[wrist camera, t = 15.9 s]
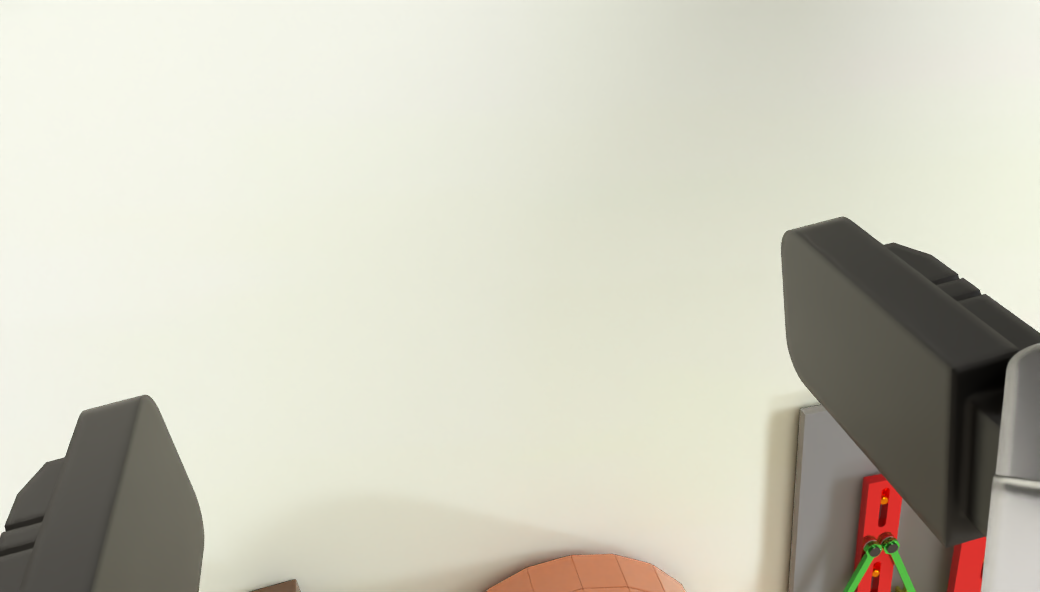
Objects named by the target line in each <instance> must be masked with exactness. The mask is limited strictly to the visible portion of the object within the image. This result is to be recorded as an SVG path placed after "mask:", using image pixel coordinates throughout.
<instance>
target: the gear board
mask: <svg viewBox="0 0 1040 592" xmlns="http://www.w3.org/2000/svg"><path fill="white" fill-rule="evenodd" d="M985 548H986V537H982V538H978V539H975V540H972V541H968V542H965V543H961V544H958V545H955V546H951V547H948V548H945V547H944V546H943V544H942V543H941V542H940V541H939V540H938V539H937V537H936V536H935V535H934V534H933V533H932V532H931V530H930V529H929V528H928V527H927V526H926V525H925V524H924V522H923V521H922V520H921V519H920V518H919V517H918V515H917V514H916V513H915V512H914V511H913V510H912V509H911V507H910V506H909V505H908V504H907V503H906V502H905V500H904V499H903V498H902V497H901V496H900V495H899V493H898V492H897V491H896V490H895V489H894V488H893V487H892V485H891V484H890V483H889V482H888V481H887V480H886V478H885V477H884V476H883V475H882V474H881V473H880V472H879V470H878V469H877V468H876V467H875V466H874V465H873V463H872V462H871V461H870V460H869V459H868V458H867V456H866V455H865V454H864V453H863V452H862V451H861V450H860V448H859V447H858V446H857V445H856V444H855V443H854V441H853V440H852V439H851V438H850V437H849V436H848V435H847V433H846V432H845V431H844V430H843V429H842V428H841V426H840V425H839V424H838V423H837V422H836V421H835V419H834V418H833V417H832V416H831V415H830V414H829V413H828V411H827V410H826V409H825V408H824V407H823V406H822V405H817V406H812V407H806V408H801V409H800V419H799V434H798V450H797V465H796V481H795V496H794V512H793V527H792V543H791V558H790V574H789V589H788V592H981V585H982V576H983V566H984V557H985Z"/></svg>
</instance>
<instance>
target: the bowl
mask: <svg viewBox="0 0 1040 592" xmlns="http://www.w3.org/2000/svg"><path fill="white" fill-rule="evenodd" d="M485 592H686V591H685V589H684V587H683V586H682V584H680V583H679V582H678V581H676V580H675V579H673V578H672V577H670V576H669V575H667V574H666V573H665V572H663V571H662V570H660V569H659V568H657V567H656V566H654V565H652V564H650V563H647V562H643V561H639V560H635V559H631V558H627V557H623V556H619V555H614V554H592V555H571V556H570V555H569V556H566V557H562V558H558V559H555V560H551V561H548V562H544V563H541V564H537V565H533V566H530V567H527V568H525V569H523V570H521V571H519V572H518V573H516V574H514V575H512V576H510V577H509V578H507V579H505V580H503V581H502V582H500V583H498V584H496V585H494V586H493V587H491V588H489V589H488V590H487V591H485Z"/></svg>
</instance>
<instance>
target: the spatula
mask: <svg viewBox="0 0 1040 592" xmlns="http://www.w3.org/2000/svg"><path fill="white" fill-rule="evenodd" d="M251 592H301V591H300V589H299V586H298V584H297V581H296V579H294V580H290V581H287V582H283V583H280V584H276V585H272V586H269V587H265V588H262V589H258V590H254V591H251Z"/></svg>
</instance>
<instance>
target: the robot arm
mask: <svg viewBox="0 0 1040 592" xmlns="http://www.w3.org/2000/svg"><path fill="white" fill-rule="evenodd" d="M781 258H782V275H783V292H784V309H785V326H786V339H787V345H788V350H789V354H790V357H791V360H792V363H793V365H794V368H795V370H796V372H797V374H798V376H799V378H800V379H801V381H802V382H803V383H804V385H805V386H806V387H807V388H808V389H809V391H810V392H811V393H812V394H813V395H814V396H815V397H816V399H817V400H818V401H819V402H820V403H821V404H822V406H823V407H824V408H825V409H826V410H827V411H828V413H829V414H830V415H831V416H832V417H833V418H834V419H835V421H836V422H837V423H838V424H839V425H840V426H841V428H842V429H843V430H844V431H845V432H846V433H847V435H848V436H849V437H850V438H851V439H852V440H853V441H854V443H855V444H856V445H857V446H858V447H859V448H860V450H861V451H862V452H863V453H864V454H865V455H866V456H867V458H868V459H869V460H870V461H871V462H872V463H873V465H874V466H875V467H876V468H877V469H878V470H879V472H880V473H881V474H882V475H883V476H884V477H885V478H886V480H887V481H888V482H889V483H890V484H891V485H892V487H893V488H894V489H895V490H896V491H897V492H898V493H899V495H900V496H901V497H902V498H903V499H904V500H905V502H906V503H907V504H908V505H909V506H910V507H911V509H912V510H913V511H914V512H915V513H916V514H917V515H918V517H919V518H920V519H921V520H922V521H923V522H924V524H925V525H926V526H927V527H928V528H929V529H930V530H931V532H932V533H933V534H934V535H935V536H936V537H937V539H938V540H939V541H940V542H941V543H942V544H943V546H944V547H945V548H948V547H951V546H955V545H958V544H961V543H965V542H968V541H972V540H975V539H978V538H982V537H986V548H985V557H984V566H983V576H982V585H981V592H1040V333H1039V332H1037V331H1036V330H1035V329H1033V328H1032V327H1031V326H1029V325H1028V324H1026V323H1025V322H1024V321H1022V320H1021V319H1019V318H1018V317H1017V316H1015V315H1014V314H1013V313H1011V312H1010V311H1008V310H1007V309H1006V308H1004V307H1003V306H1001V305H1000V304H999V303H997V302H996V301H994V300H993V299H992V298H990V297H989V296H988V295H986V294H983V295H981V293H980V290H979V289H978V288H976V287H975V286H974V285H972V284H971V283H970V282H968V281H967V280H965V279H964V278H961V279H959V277H958V274H957V273H956V272H954V271H953V270H951V269H950V268H949V267H947V266H946V265H945V264H943V263H942V262H940V261H939V260H938V259H936V258H935V257H933V256H932V255H930V254H927V253H924V252H921V251H917V250H914V249H911V248H908V247H905V246H902V245H899V244H896V243H890V244H886V245H883V244H881V243H880V242H879V241H877V240H876V239H875V238H873V237H872V236H871V235H869V234H868V233H867V232H866V231H864V230H863V229H862V228H860V227H859V226H858V225H856V224H855V223H854V222H852V221H851V220H850V219H848V218H846V217H839V218H835V219H831V220H827V221H823V222H819V223H815V224H811V225H808V226H804V227H800V228H796V229H792V230H788V231H787V232H785V234H784V236H783V238H782V243H781ZM5 529H6V532H3V533H2V534H1V536H0V592H198V591H199V583H200V575H201V566H202V558H203V550H204V528H203V521H202V515H201V511H200V507H199V503H198V500H197V497H196V495H195V492H194V490H193V487H192V485H191V483H190V480H189V478H188V476H187V473H186V471H185V469H184V466H183V464H182V462H181V460H180V457H179V455H178V453H177V450H176V448H175V446H174V443H173V441H172V439H171V436H170V434H169V432H168V429H167V427H166V425H165V422H164V420H163V418H162V415H161V413H160V411H159V409H158V407H157V405H156V403H155V402H154V401H153V399H152V398H151V397H150V396H148V395H142V396H138V397H134V398H130V399H126V400H122V401H119V402H115V403H111V404H107V405H103V406H99V407H95V408H91V409H88V410H84V411H83V412H82V413H81V414H80V416H79V418H78V421H77V424H76V427H75V430H74V433H73V436H72V438H71V441H70V444H69V447H68V450H67V453H66V456H65V458H61V459H57V460H54V461H50V462H46V463H45V464H44V465H43V467H42V468H41V469H40V470H39V471H38V472H37V473H36V474H35V475H34V477H33V478H32V479H31V480H30V481H29V482H28V483H27V484H26V485H25V487H24V488H23V489H22V490H21V491H20V492H19V493H18V494H17V496H16V499H15V501H14V504H13V506H12V509H11V511H10V514H9V516H8V519H7V521H6V524H5Z"/></svg>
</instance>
